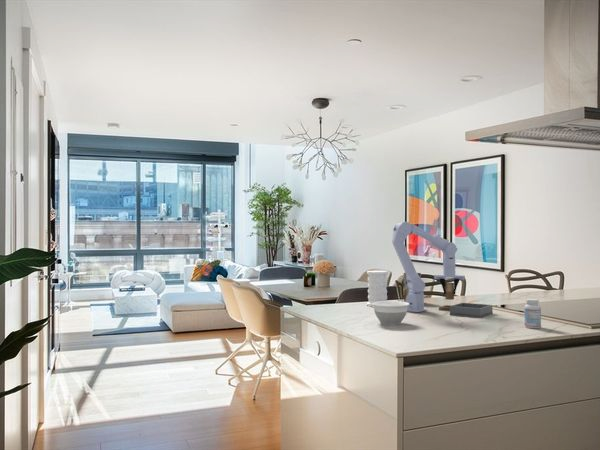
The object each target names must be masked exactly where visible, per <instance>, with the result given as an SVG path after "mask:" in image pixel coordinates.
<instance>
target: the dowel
mask: <svg viewBox="0 0 600 450" xmlns="http://www.w3.org/2000/svg"><path fill="white" fill-rule="evenodd" d="M445 293H446V294H444V295H445V300H450V301H451V300H455V295H454V282H445Z"/></svg>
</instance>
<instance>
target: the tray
mask: <svg viewBox="0 0 600 450" xmlns="http://www.w3.org/2000/svg"><path fill="white" fill-rule="evenodd" d="M493 313H494V312H493V304H485V303H471V302H460V303H456V304H453V305H451V306H450V311H449V316H459V317H468V318H469V317H470V318H479V319H480V318H484V317H486V316H489V315H493Z"/></svg>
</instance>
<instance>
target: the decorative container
mask: <svg viewBox="0 0 600 450" xmlns="http://www.w3.org/2000/svg"><path fill="white" fill-rule="evenodd" d="M388 273H389V271H388V270H367V271H366V275H367V287H368V289H367V293H368V295H367V299H368V302H366V306H367V305H368V306H367V307H369V306H373V305H372V303H373V302H378V301H388V295H387V293H388V289H387V287H388V284H387V281H388V277H387V275H389V274H388Z"/></svg>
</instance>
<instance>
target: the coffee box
mask: <svg viewBox="0 0 600 450" xmlns="http://www.w3.org/2000/svg"><path fill="white" fill-rule="evenodd" d="M417 274H418V275H419V276H420V278H421V279H422V273H421V272H417ZM408 294H409V288H408V286H407V279H406V273H405V272H404V273H403V302H406V296H407V295H408Z"/></svg>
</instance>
